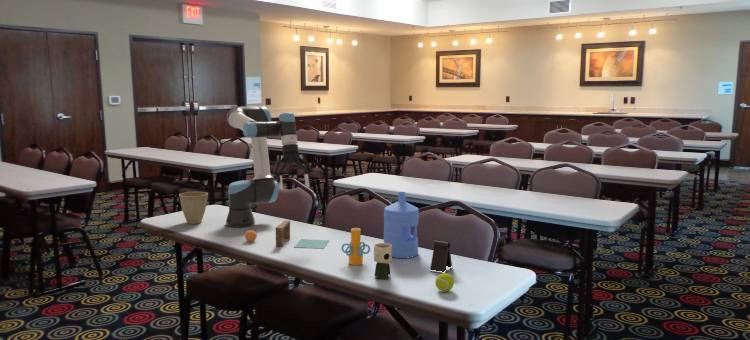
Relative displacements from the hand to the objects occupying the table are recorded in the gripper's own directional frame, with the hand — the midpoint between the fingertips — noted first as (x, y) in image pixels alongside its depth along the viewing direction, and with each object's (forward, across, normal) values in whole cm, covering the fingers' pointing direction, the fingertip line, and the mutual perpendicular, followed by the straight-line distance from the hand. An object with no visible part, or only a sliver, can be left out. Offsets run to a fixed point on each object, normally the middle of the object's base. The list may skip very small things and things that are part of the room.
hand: (294, 188), depth 268 cm
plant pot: (+10, -32, +67) cm, 75 cm away
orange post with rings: (+37, +8, -38) cm, 53 cm away
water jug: (+36, +32, -36) cm, 60 cm away
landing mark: (+27, +5, -2) cm, 28 cm away
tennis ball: (+48, +19, -81) cm, 96 cm away
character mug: (+42, +8, -58) cm, 72 cm away
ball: (+20, -19, +15) cm, 31 cm away
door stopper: (+43, +34, -62) cm, 82 cm away
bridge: (+25, -6, +6) cm, 27 cm away
